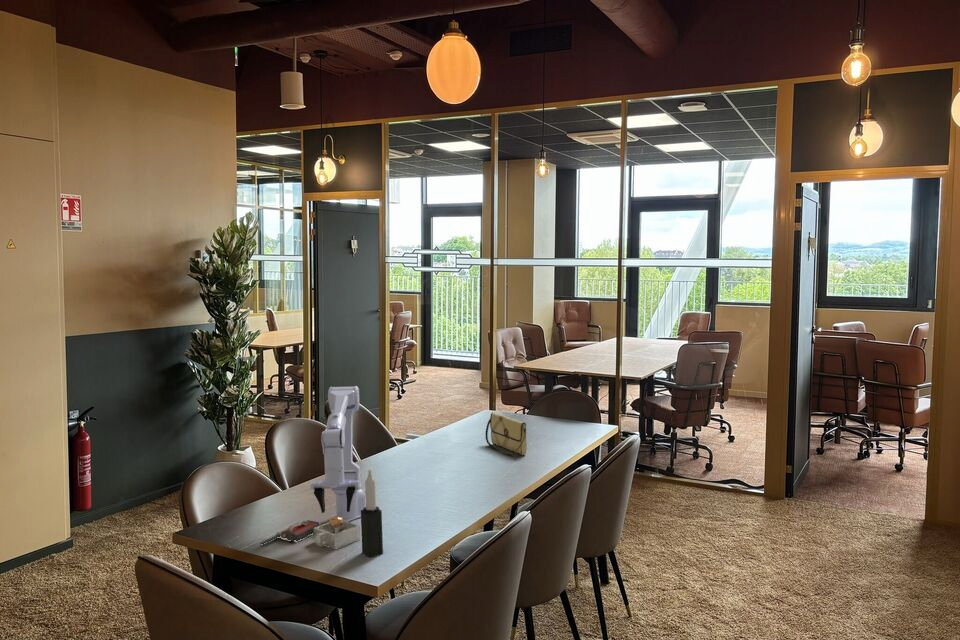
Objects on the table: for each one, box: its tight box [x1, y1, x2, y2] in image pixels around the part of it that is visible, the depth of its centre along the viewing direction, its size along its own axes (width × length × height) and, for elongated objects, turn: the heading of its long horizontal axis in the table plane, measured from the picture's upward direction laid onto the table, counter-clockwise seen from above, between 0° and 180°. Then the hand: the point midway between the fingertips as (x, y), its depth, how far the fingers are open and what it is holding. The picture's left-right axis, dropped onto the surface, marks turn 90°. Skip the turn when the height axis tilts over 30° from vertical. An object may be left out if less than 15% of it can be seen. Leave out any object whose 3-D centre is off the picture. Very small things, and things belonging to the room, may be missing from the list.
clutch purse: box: [485, 412, 527, 456], centre depth 331 cm, size 30×7×15 cm, turn 30°
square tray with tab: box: [312, 520, 361, 550], centre depth 226 cm, size 12×10×4 cm
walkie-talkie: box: [259, 519, 320, 545], centre depth 230 cm, size 9×4×20 cm
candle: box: [360, 469, 384, 558], centre depth 216 cm, size 5×5×25 cm
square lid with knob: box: [329, 515, 343, 534], centre depth 227 cm, size 8×8×7 cm
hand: (336, 511), depth 226 cm, fingers open, 7 cm apart
